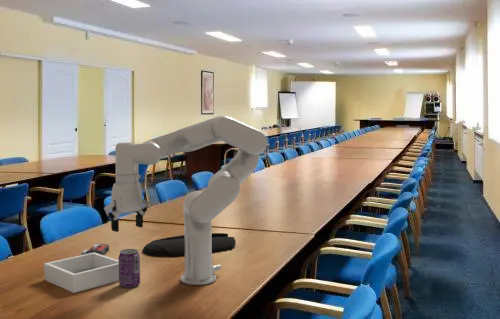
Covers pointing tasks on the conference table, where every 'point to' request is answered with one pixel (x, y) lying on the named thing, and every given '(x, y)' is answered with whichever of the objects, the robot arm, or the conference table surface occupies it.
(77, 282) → the walled box
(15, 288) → the conference table surface
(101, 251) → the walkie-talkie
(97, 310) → the conference table surface
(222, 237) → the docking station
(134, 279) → the beverage can
